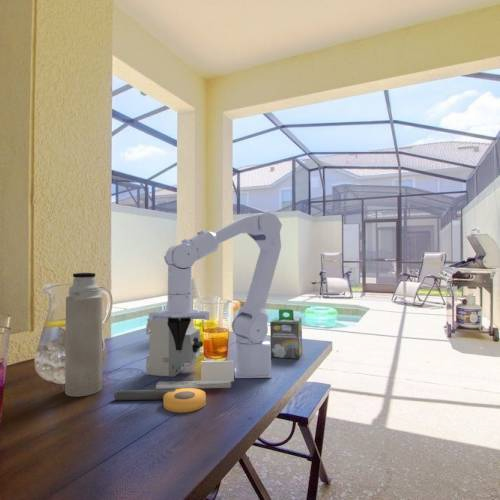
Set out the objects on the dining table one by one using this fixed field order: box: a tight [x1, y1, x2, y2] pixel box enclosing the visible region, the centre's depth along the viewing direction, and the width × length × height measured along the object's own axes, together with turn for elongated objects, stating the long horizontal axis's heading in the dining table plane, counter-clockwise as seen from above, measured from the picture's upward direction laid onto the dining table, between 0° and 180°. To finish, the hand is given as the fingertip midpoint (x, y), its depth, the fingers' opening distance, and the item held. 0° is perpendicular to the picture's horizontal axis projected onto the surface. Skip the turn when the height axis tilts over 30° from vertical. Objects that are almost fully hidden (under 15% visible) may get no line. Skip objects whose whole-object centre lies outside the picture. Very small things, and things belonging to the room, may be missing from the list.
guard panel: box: [200, 360, 235, 382], centre depth 91 cm, size 8×1×5 cm, turn 93°
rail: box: [155, 380, 232, 390], centre depth 91 cm, size 18×2×1 cm, turn 93°
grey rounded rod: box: [113, 389, 176, 401], centre depth 83 cm, size 14×2×2 cm, turn 93°
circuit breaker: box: [145, 316, 204, 378], centre depth 103 cm, size 8×14×15 cm, turn 78°
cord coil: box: [162, 388, 207, 414], centre depth 80 cm, size 9×9×2 cm
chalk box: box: [269, 308, 303, 360], centre depth 120 cm, size 9×9×15 cm
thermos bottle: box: [64, 272, 103, 398], centre depth 89 cm, size 8×8×28 cm
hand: (179, 349), depth 91 cm, fingers closed
